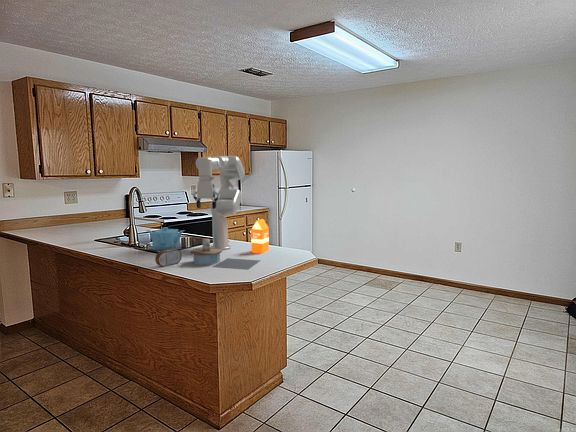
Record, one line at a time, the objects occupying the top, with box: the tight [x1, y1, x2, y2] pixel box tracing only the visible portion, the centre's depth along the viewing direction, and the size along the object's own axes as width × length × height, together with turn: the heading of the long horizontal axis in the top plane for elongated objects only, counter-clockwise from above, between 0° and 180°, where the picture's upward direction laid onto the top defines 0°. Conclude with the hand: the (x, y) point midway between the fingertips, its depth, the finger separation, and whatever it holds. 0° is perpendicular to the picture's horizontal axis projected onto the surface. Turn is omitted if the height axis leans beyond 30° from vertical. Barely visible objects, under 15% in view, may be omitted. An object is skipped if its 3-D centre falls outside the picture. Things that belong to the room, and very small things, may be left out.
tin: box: [154, 248, 183, 267], centre depth 208 cm, size 15×3×8 cm, turn 141°
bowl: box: [192, 253, 221, 266], centre depth 214 cm, size 14×14×6 cm
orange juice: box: [250, 218, 270, 254], centre depth 241 cm, size 8×9×20 cm
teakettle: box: [145, 226, 186, 253], centre depth 244 cm, size 19×19×15 cm
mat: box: [212, 257, 261, 270], centre depth 209 cm, size 20×20×1 cm
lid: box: [190, 238, 223, 255], centre depth 213 cm, size 17×17×7 cm
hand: (206, 208), depth 227 cm, fingers open, 9 cm apart
